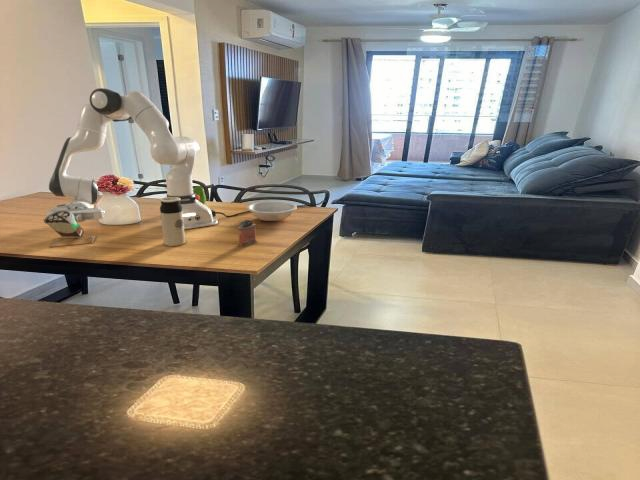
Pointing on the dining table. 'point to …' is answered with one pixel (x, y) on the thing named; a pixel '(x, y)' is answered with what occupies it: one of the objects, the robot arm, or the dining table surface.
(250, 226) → the red tin
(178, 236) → the travel mug
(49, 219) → the food container
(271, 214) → the soup bowl
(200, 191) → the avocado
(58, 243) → the cork pad
